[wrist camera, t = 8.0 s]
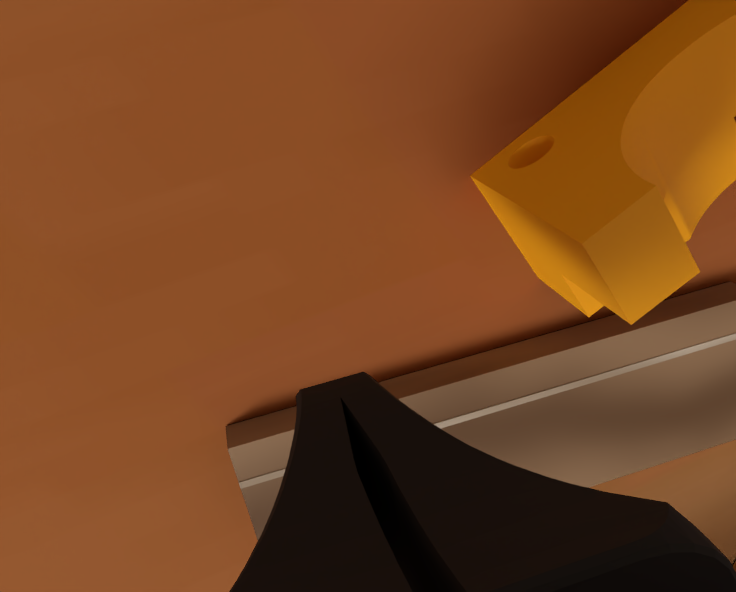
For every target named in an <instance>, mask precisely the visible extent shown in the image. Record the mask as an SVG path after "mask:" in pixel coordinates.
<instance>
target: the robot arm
mask: <svg viewBox="0 0 736 592" xmlns="http://www.w3.org/2000/svg"><path fill="white" fill-rule="evenodd" d="M296 402H297V412H296V422H295V429H294V435H293V440H292V445H291V450H290V454H289V459H288V462H287V466H286V469H285V473H284V476H283V479H282V482H281V486H280V489H279V492H278V495H277V498H276V500H275V503H274V506H273V508H272V511H271V513H270V516H269V518H268V520H267V523H266V525H265V527H264V530H263V532H262V534H261V536H260V538H259V540H258V542H257V544H256V546H255V548H254V550H253V552H252V554H251V556H250V558H249V560H248V562H247V563H246V565H245V567H244V569H243V571H242V572H241V574H240V576H239V577H238V579H237V581H236V582H235V584H234V585H233V587H232V588H231V590H230V591H229V592H736V572H735V570H734V568H733V566H732V564H731V562H730V561H729V560H728V559H727V558H726V557H725V556H724V555H723V554H722V552H721V551H720V550H719V549H718V548H717V547H716V546H715V545H714V544H713V543H712V542H711V541H710V540H709V539H708V538H707V537H706V536H705V535H704V534H703V533H702V532H701V531H700V530H698V529H697V528H696V527H695V526H694V525H693V524H692V523H691V522H690V521H688V520H687V519H686V518H685V517H684V516H682V515H681V514H680V513H679V512H678V511H676V510H675V509H674V508H673V507H672V506H671V505H670V504H668V503H667V502H661V501H655V500H649V499H643V498H637V497H631V496H625V495H619V494H613V493H608V492H603V491H599V490H595V489H591V488H587V487H583V486H579V485H575V484H571V483H567V482H563V481H560V480H557V479H553V478H550V477H546V476H543V475H541V474H538V473H535V472H532V471H529V470H526V469H523V468H521V467H518V466H515V465H512V464H510V463H507V462H505V461H502V460H500V459H498V458H495V457H493V456H491V455H489V454H487V453H485V452H482V451H480V450H478V449H476V448H474V447H472V446H470V445H468V444H466V443H464V442H462V441H461V440H459V439H457V438H455V437H454V436H452V435H450V434H449V433H447V432H445V431H444V430H442V429H440V428H439V427H437V426H436V425H434V424H433V423H431V422H429V421H428V420H427V419H425V418H424V417H422V416H421V415H419V414H418V413H416V412H415V411H414V410H412V409H411V408H409V407H408V406H407V405H405V404H404V403H403V402H401V401H400V400H399V399H397V398H396V397H395V396H394V395H392V394H391V393H390V392H388V391H387V390H386V389H385V388H384V387H382V386H381V385H380V384H379V383H378V382H377V381H376V380H374V379H373V378H372V377H371V376H370V375H368V374H367V373H365V372H361V373H357V374H354V375H350V376H347V377H343V378H340V379H336V380H333V381H329V382H326V383H322V384H318V385H315V386H311V387H308V388H304V389H301V390H300V391H299V392H298V394H297V395H296Z"/></svg>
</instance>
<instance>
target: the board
mask: <svg viewBox="0 0 736 592" xmlns="http://www.w3.org/2000/svg"><path fill="white" fill-rule="evenodd" d="M378 383H379V384H380V385H381V386H382V387H384V388H385V389H386V390H387V391H388V392H390V393H391V394H392V395H394V396H395V397H396V398H397V399H399V400H400V401H401V402H403V403H404V404H405V405H407V406H408V407H409V408H411V409H412V410H414V411H415V412H416V413H418V414H419V415H421V416H422V417H424V418H425V419H427V420H428V421H429V422H431V423H433V424H434V425H436V426H437V427H439V428H440V429H442V430H444V431H445V432H447V433H449V434H450V435H452V436H454V437H455V438H457V439H459V440H461V441H462V442H464V443H466V444H468V445H470V446H472V447H474V448H476V449H478V450H480V451H482V452H485V453H487V454H489V455H491V456H493V457H495V458H498V459H500V460H502V461H505V462H507V463H510V464H512V465H515V466H518V467H521V468H523V469H526V470H529V471H532V472H535V473H538V474H541V475H543V476H546V477H550V478H553V479H557V480H560V481H563V482H567V483H571V484H575V485H579V486H583V487H587V488H589V487H592V486H595V485H598V484H601V483H604V482H607V481H610V480H613V479H616V478H619V477H622V476H625V475H629V474H632V473H635V472H638V471H641V470H644V469H647V468H650V467H653V466H656V465H659V464H662V463H665V462H668V461H671V460H674V459H678V458H681V457H684V456H687V455H690V454H693V453H696V452H699V451H702V450H705V449H708V448H711V447H714V446H717V445H720V444H723V443H727V442H730V441H733V440H736V284H735V283H733V282H731V281H730V282H727V283H723V284H720V285H716V286H713V287H709V288H706V289H702V290H699V291H695V292H692V293H688V294H685V295H681V296H678V297H674V298H671V299H667V300H664V301H662V302H660V303H659V304H658V305H656V306H655V307H654V308H653V309H651V310H650V311H649V312H647V313H646V314H645V315H644V316H642V317H641V318H640V319H638V320H637V321H636V322H634V323H633V324H632V325H631V324H629V323H628V322H626V321H625V320H624V319H622V318H621V317H620V316H618V315H617V314H615V315H612V316H608V317H605V318H601V319H598V320H594V321H591V322H587V323H584V324H580V325H577V326H573V327H570V328H566V329H563V330H559V331H556V332H552V333H549V334H546V335H542V336H539V337H535V338H532V339H528V340H525V341H521V342H518V343H514V344H511V345H507V346H504V347H500V348H497V349H493V350H490V351H486V352H483V353H479V354H476V355H472V356H469V357H465V358H462V359H458V360H455V361H451V362H448V363H444V364H441V365H437V366H434V367H431V368H427V369H424V370H420V371H417V372H413V373H410V374H406V375H403V376H399V377H396V378H392V379H389V380H385V381H382V382H378ZM296 412H297V406H295V407H291V408H288V409H284V410H281V411H277V412H274V413H270V414H267V415H263V416H260V417H256V418H253V419H249V420H246V421H242V422H239V423H235V424H232V425H228V426H226V436H227V447H228V451H229V454H230V457H231V460H232V463H233V466H234V470H235V473H236V476H237V479H238V482H239V485H240V488H241V491H242V494H243V497H244V500H245V503H246V506H247V509H248V512H249V515H250V518H251V521H252V524H253V527H254V530H255V533H256V536H257V539H258V540H259V538H260V536H261V534H262V532H263V530H264V527H265V525H266V523H267V520H268V518H269V516H270V513H271V511H272V508H273V506H274V503H275V500H276V498H277V495H278V492H279V489H280V486H281V482H282V479H283V476H284V473H285V469H286V466H287V462H288V459H289V454H290V450H291V445H292V440H293V435H294V429H295V422H296Z"/></svg>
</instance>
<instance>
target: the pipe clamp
mask: <svg viewBox="0 0 736 592" xmlns="http://www.w3.org/2000/svg"><path fill="white" fill-rule="evenodd" d="M735 116H736V0H688V1H687V2H686V3H685V4H683V5H682V6H681V7H680V8H678V9H677V10H676V11H675V12H673V13H672V14H671V15H670V16H668V17H667V18H666V19H665V20H663V21H662V22H661V23H660V24H658V25H657V26H656V27H655V28H653V29H652V30H651V31H650V32H648V33H647V34H646V35H645V36H643V37H642V38H641V39H640V40H639V41H637V42H636V43H635V44H634V45H632V46H631V47H630V48H629V49H627V50H626V51H625V52H624V53H622V54H621V55H620V56H619V57H617V58H616V59H615V60H614V61H612V62H611V63H610V64H609V65H607V66H606V67H605V68H604V69H602V70H601V71H600V72H599V73H597V74H596V75H595V76H594V77H592V78H591V79H590V80H589V81H587V82H586V83H585V84H584V85H582V86H581V87H580V88H579V89H577V90H576V91H575V92H574V93H573V94H571V95H570V96H569V97H568V98H566V99H565V100H564V101H563V102H561V103H560V104H559V105H558V106H556V107H555V108H554V109H553V110H551V111H550V112H549V113H548V114H546V115H545V116H544V117H543V118H541V119H540V120H539V121H538V122H536V123H535V124H534V125H533V126H531V127H530V128H529V129H528V130H526V131H525V132H524V133H523V134H521V135H520V136H519V137H518V138H516V139H515V140H514V141H513V142H511V143H510V144H509V145H508V146H507V147H505V148H504V149H503V150H502V151H500V152H499V153H498V154H497V155H495V156H494V157H493V158H492V159H490V160H489V161H488V162H487V163H485V164H484V165H483V166H482V167H480V168H479V169H478V170H477V171H475V172H474V173H473V174H472V175H470V177H471V178H472V180H473V181H474V183H475V184H476V186H477V187H478V189H479V190H480V192H481V193H482V195H483V196H484V198H485V199H486V201H487V202H488V203H489V205H490V206H491V208H492V209H493V211H494V212H495V214H496V215H497V217H498V218H499V220H500V221H501V223H502V224H503V226H504V227H505V229H506V230H507V232H508V233H509V235H510V236H511V238H512V239H513V241H514V242H515V244H516V245H517V247H518V248H519V250H520V251H521V253H522V254H523V256H524V257H525V259H526V260H527V262H528V263H529V265H530V266H531V268H532V269H533V271H534V272H535V274H536V275H537V277H538V278H539V279H540V280H542V281H543V282H544V283H545V284H547V285H548V286H549V287H551V288H552V289H553V290H554V291H556V292H557V293H558V294H560V295H561V296H562V297H563V298H565V299H566V300H567V301H569V302H570V303H571V304H572V305H574V306H575V307H576V308H578V309H579V310H580V311H581V312H583V313H584V314H585V315H587V316H588V317H590V316H591V315H593V314H594V313H595V312H597V311H598V310H599V309H600V308H602V307H603V306H606V307H607V308H608V309H610V310H611V311H613V312H614V313H615V314H617V315H618V316H620V317H621V318H622V319H624V320H625V321H626V322H628V323H629V324H631V325H632V324H633V323H634V322H636V321H637V320H638V319H640V318H641V317H642V316H644V315H645V314H646V313H647V312H649V311H650V310H651V309H653V308H654V307H655V306H656V305H658V304H659V303H660V302H662V301H663V300H664V299H666V298H667V297H668V296H669V295H671V294H672V293H673V292H675V291H676V290H677V289H679V288H680V287H681V286H682V285H684V284H685V283H686V282H688V281H689V280H690V279H692V278H693V277H694V276H695V275H697V274H698V273H699V272H700V271H699V269H698V267H697V265H696V263H695V261H694V259H693V257H692V255H691V253H690V251H689V249H688V247H687V245H686V243H685V242H687V241H688V240H689V239H690V238H691V236H692V233H693V231H694V229H695V227H696V225H697V223H698V221H699V220H700V218H701V217H702V215H703V214H704V212H705V211H706V210H707V208H708V207H709V206H710V205H711V203H712V202H713V201H714V200H715V199H716V198H717V197H718V196H719V195H720V194H721V193H722V192H723V191H724V190H725V189H726V188H727V187H728V186H729V185H730V184H731V183H733V182H734V181H735V180H736V122H735V119H734V117H735Z"/></svg>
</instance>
